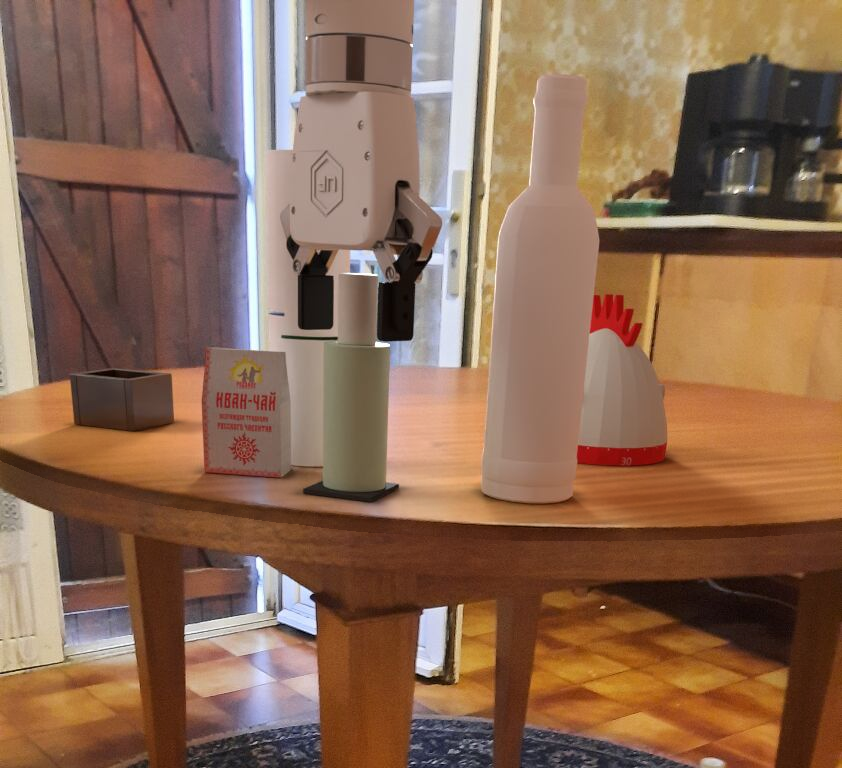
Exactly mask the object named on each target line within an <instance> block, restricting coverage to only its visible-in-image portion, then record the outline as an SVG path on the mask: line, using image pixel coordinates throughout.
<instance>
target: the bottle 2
mask: <svg viewBox="0 0 842 768" xmlns="http://www.w3.org/2000/svg"><path fill="white" fill-rule="evenodd" d="M587 87H588V81H587V80H586V78H585V77H583V76H580V75H574V74H566V73H565V74H560V73H559V74H558V73H554V74H553V73H552V74H550V73H549V74H544V75H541V76H540V77H539V78H538V79H537V81H536V92H535V94H534V95H533V96H534V97H533V103H532V104H533V107H534V108H533V109H534V116H533V117H534V118H533V130H532V141H531V143H532V145H531V155H530V156H531V157H530V169H529V181H528V186H527V187H526V188H524V189H523V191H522V192H521V193H520V194H519V195H518V196H517V197H516V198H515V199H514V200H513V201H512V202H511V203H510V204H509V205H508V208H507V210H506V212H505V216H504V218H503V220H502V224H501V226H500V229H499V232H498V235H497V246H496V247H497V248H496V249H497V250H496V264H495V276H494V278H495V279H494V293H493V306H492V307H493V308H492V309H493V310H492V323H491V336H490V338H491V339H490V351H489V352H490V353H489V367H488V380H487V381H488V382H487V393H486V395H487V396H486V409H485V410H486V411H485V424H484V426H485V427H484V440H483V450H482V453H481V464H480V466H481V467H480V473H481V482H480V483H481V484H480V491H481V492H482V493H483V494H484V495H485V496H487V497H489V498H492V499H496V500H500V501H505V502H512V503H521V504H555V503H561V502H565V501H567V500H569V499H570V498H571V497H573V496H574V485H575V481H576V477H577V471H578V469H577V468H578V463H577V449H578V439H579V430H580V420H581V411H582V401H583V392H584V383H585V373H586V364H587V354H588V345H589V335H590V326H591V316H592V307H593V297H594V295H595V289H596V288H595V287H596V278H597V277H596V276H597V269H598V258H599V250H600V235H599V229H598V223H597V218H596V214H595V210H594V208H593V207H592V206H591V205H592V204H590V203H589V201H588V199H586V196H584V195H583V193H582V191H581V190H580V189H579V188H578V180H579V170H580V161H581V148H582V141H583V140H582V139H583V128H584V117H585V110H586V108H587V106H588V96H587Z"/></svg>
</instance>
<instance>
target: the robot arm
mask: <svg viewBox="0 0 842 768" xmlns="http://www.w3.org/2000/svg"><path fill="white" fill-rule="evenodd" d="M414 12H415V0H305V95H304V96H300V100H299V103H298V110H297V114H296V121H295V128H294V136H293V145H292V150H293V155H292V170H291V192H290V204H289V205H288V206H287V207H286V208H285V209H284V210H283V211H282V212H281V215H280V220H281V223H282V227H283V230H284V233H285V237H286V239H287V242H286V246H287V250H288V252H289V253H290V255H291V257H292V259H293V265H292V267H293V271H294V273H295V274H299V275H298V327H299V328H300V329H302V330H329V329H331V328H332V327H333V317H334V276H331V275H326V274H327V273H328V271H329V269H330V267H331V265H332V262H333V260H334V258H335V256H336V254H337V252H338V250H339V249H340V250H350V251H370V252H371V251H372V252H373V255H374V257H375V259H376V261H377V263H378V266H379V268H380V270H381V273H382V275H383V278H384V279H385V281H378V292H377V332H376V339H377V340H378V341H379V342H385V343H386V342H387V343H388V342H411V341H412V340H413V339H414V335H415V334H414V333H415V332H414V331H415V330H414V329H415V308H416V306H415V303H416V284H419V283H421V282H422V280H423V275H424V274H423V271H424V270H425V268H426V267H427V265H428V264H429V263H430V261H431V260H432V258H433V255H434V254H433V253H434V252H433V248H435V245H436V242H437V241H438V237H439V236H440V233H441V231H442V227H443V220H442V219H443V218H442V217H441V216H440V215H439V214H438V213H437V212H436V211H435V210H434V209H433V208H432V207H431V206H430V205H428V204H427V203H426V201H424V200H423V199H422V198H421V196H420V186H421V184H420V181H421V180H420V149H419V134H418V124H417V113H416V106H415V99H414V97H412V81H413V79H412V78H413V77H412V75H413V51H414V50H413V49H414V47H413V44H414V43H413V42H414V23H415V22H414V17H415V16H414V15H415V13H414ZM316 250H321V251H320V253H319V255H318V253H317V251H316ZM395 256H397V259H396V257H395Z"/></svg>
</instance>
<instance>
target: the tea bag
mask: <svg viewBox="0 0 842 768" xmlns="http://www.w3.org/2000/svg"><path fill="white" fill-rule="evenodd" d="M204 349H205V351H204V352H205V353H204V369H203V371H204V372H203V382H202V390H201V391H202V393H201V417H202V418H201V419H202V421H201V423H202V443H203V465H204V466H203V467H204V468H203V469H204V473H208V474H222V475H237V476H252V477H264V478H279V479H281V478H283V477H284V476H286V475H287V474H288V473H289V472H290V471H291V470H292V465H291V399H290V391H289V383H288V375H287V366H286V353H285V352H276V351H269V350H259V349H241V348H227V347H209V346H207V347H205V348H204Z"/></svg>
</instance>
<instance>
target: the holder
mask: <svg viewBox="0 0 842 768" xmlns="http://www.w3.org/2000/svg"><path fill="white" fill-rule="evenodd" d="M69 381H70V394H71V402H72V404H71V405H72V413H73V414H72V415H73V424H74V425H76V426H86V427H94V428H102V429H109V430H110V429H111V430H119V431H120V430H121V431H128V432H139V431H144V430H147V429H151V428H155V427H160V426H164V425H169V424H173V423H175V413H174V410H175V409H174V392H173V376H172V373H170V372H159V371H148V370H139V369H130V368H129V369H127V368H117V367H110V368H103V369H102V368H101V369H96V370H89V371H88V370H87V371H80V372H74V373H69Z"/></svg>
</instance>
